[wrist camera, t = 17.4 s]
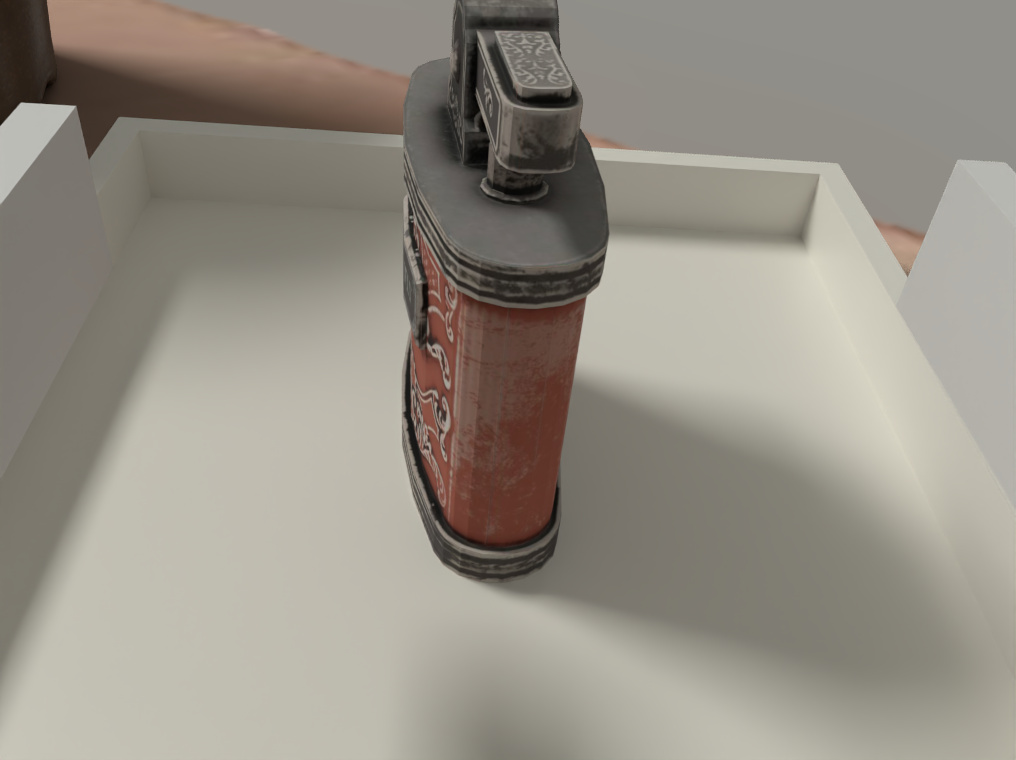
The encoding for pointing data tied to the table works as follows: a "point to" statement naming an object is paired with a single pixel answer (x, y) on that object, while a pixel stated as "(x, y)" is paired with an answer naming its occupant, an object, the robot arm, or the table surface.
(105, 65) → the table surface
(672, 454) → the tray
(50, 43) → the plant pot
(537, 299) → the lighter
